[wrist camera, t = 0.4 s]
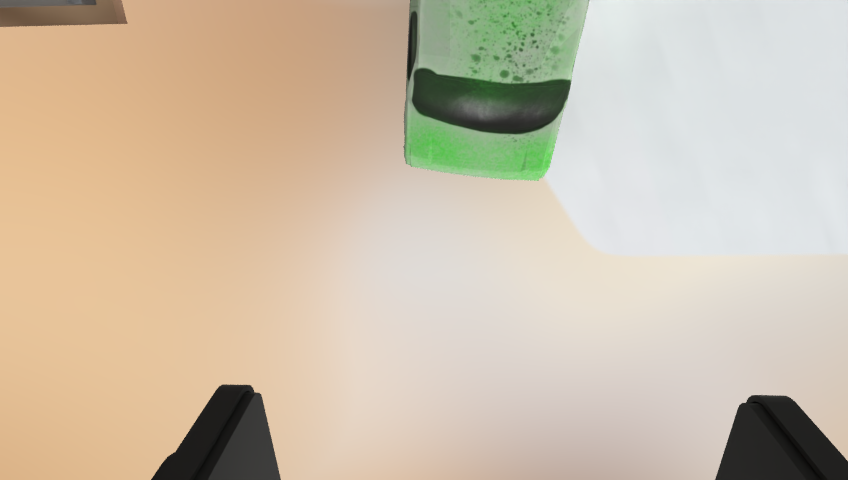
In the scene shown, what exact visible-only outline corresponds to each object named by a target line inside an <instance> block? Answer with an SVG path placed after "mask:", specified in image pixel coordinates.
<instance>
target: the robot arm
mask: <svg viewBox="0 0 848 480" xmlns="http://www.w3.org/2000/svg"><path fill="white" fill-rule="evenodd" d="M151 480H281V479H280V474H279V470H278V466H277V461H276V457H275V452H274V448H273V444H272V439H271V435H270V431H269V426H268V422H267V417H266V414H265V409H264V405H263V400H262V397H261V394H260V393H254V390H253V388H252V387H251V386H250V385H221V386H219V388H218V389H217V390H216V391H215V393H214V394H213V396H212V397H211V399H210V400H209V402H208V403H207V405H206V406H205V408H204V409H203V411H202V412H201V414H200V416H199V417H198V418H197V420H196V422H195V423H194V425H193V426H192V428H191V429H190V431H189V432H188V434H187V435H186V437H185V438H184V440H183V441H182V443H181V444H180V446H179V448H178V449H177V450H176V452H175V453H173V454H171V455H170V456H168V457H167V459H166V460H165V461H164V462H163V463H162V464H161V466H160V467H159V469H158V470H157V472H156V473H155V475H154V476H153V478H152V479H151ZM715 480H848V461H847V460H846V459H845V458H844V456H843V455H842V454H841V453H840V452H839V451H838V450H837V449H836V447H835V446H834V445H833V444H832V443H831V442H830V441H829V439H828V438H827V437H826V436H825V435H824V434H823V433H822V432H821V431H820V429H819V428H818V427H817V426H816V425H815V424H814V423H813V421H812V420H811V419H810V418H809V417H808V416H807V415H806V414H805V413H804V411H803V410H802V409H801V408H800V407H799V406H798V405H797V403H796V402H795V401H793V400H792V399H791V398H789V397H787V396H767V395H753V396H751V397H749V398H748V400H747V402H746V403H742V404H741V405H739V408H738V410H737V414H736V416H735V420H734V423H733V426H732V429H731V432H730V435H729V438H728V442H727V445H726V448H725V451H724V454H723V457H722V460H721V464H720V467H719V470H718V473H717V476H716V479H715Z"/></svg>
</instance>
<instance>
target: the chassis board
mask: <svg viewBox="0 0 848 480" xmlns="http://www.w3.org/2000/svg"><path fill="white" fill-rule="evenodd" d="M92 24H127V21H126V17H125V13H124V9H123V5H122V1H121V0H0V27H12V26H50V25H51V26H52V25H92Z"/></svg>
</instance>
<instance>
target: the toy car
mask: <svg viewBox="0 0 848 480" xmlns="http://www.w3.org/2000/svg"><path fill="white" fill-rule="evenodd" d="M588 4H589V0H410V14H409V34H408V58H407V83H406V102H405V113H404V133H405V145H404V157H405V161H406V164H408V165H411V167H417V168H423V169H428V170H434V171H439V172H444V173H451V174H459V175H467V176H474V177H484V178H495V179H509V180H534V181H538V180H539V178H542V177H544V175H545V173H546V172H547V170H548V168H549V167H550V163H551V159H552V155H553V151H554V147H555V142H556V138H557V134H558V130H559V126H560V122H561V118H562V114H563V110H564V108H565V107H566V103H567V99H568V94H569V90H570V85H571V80H572V71H573V67H574V62H575V58H576V54H577V50H578V46H579V42H580V38H581V34H582V31H583V27H584V22H585V17H586V13H587V9H588Z"/></svg>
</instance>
